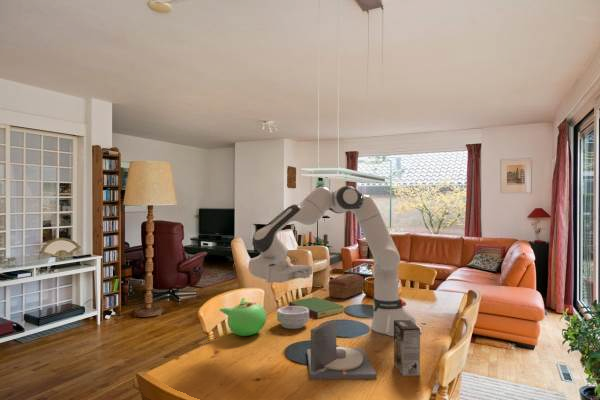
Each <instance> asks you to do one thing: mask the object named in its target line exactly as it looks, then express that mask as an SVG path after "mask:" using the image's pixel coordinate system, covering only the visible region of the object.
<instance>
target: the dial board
mask: <svg viewBox="0 0 600 400" xmlns="http://www.w3.org/2000/svg"><path fill="white" fill-rule="evenodd" d="M351 349H354V350H356V351H358V352H360V353H361V354H362V356H363V363H362V365H361V366H360V367H358V368H355V369H352V370H344V371H339V370H331V369H327V368H324V367H323V368H321V369H319V370H318V371H316V372H312V371H311V348H308V349H306V355H307V356H308V357H307V361H308V363H307V364H308V371H309V377H310V378H309V380H316V381H317V380H359V379H360V380H365V379H366V380H368V379H374V380H375V379H377V372H376V370H375V368H374V366H373V365H372V363H371V361H370V359H369V357H368V355H367V352H366V350H365V349H364V348H361V347H360V348H358V347H357V348H353V347H352V348H351Z"/></svg>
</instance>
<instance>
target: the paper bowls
mask: <svg viewBox="0 0 600 400" xmlns="http://www.w3.org/2000/svg"><path fill="white" fill-rule="evenodd" d="M276 320H277V322H278V323H280V324H281V326H282V327H283V328H284V329H288V330H297V329H299V330H300V329H301V328H303V327H304V326H305V324H306V323H307V322H309V321H310V316H309V309H308V308H306V307H302V306H289V305H288V306H283V307H279V308H277V311H276Z"/></svg>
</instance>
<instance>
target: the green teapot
mask: <svg viewBox="0 0 600 400" xmlns="http://www.w3.org/2000/svg"><path fill="white" fill-rule="evenodd" d="M219 311H220V312H221V313H223V314H225V315H226V316H227V326H228V328H229V330H230V331H231V332H232V333H233V334H235V335H236V336H241V337H248V336H253V335H256V334H257V333H259V332H260V331H261V330H262V329H263V328H264V327H265V325H266V322H267V313H266V311H265V309H264V307H263V306H262V305H260V304H259V303H256V302H252V301H247V300H246V297H243V298H241V300H240V303H238V304H236V305H235V306H234V307H232V308H230V307H221V308H219Z"/></svg>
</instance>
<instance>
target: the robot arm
mask: <svg viewBox="0 0 600 400" xmlns="http://www.w3.org/2000/svg"><path fill="white" fill-rule="evenodd" d="M328 210H329V211H331V212H333V213H335V214H343V213H347V212H352V213H353V214H354V217H355V218H356V220H357V222H358V225H359V228H360V229H361V232H362V235H363V236H364V239H365V241H366V243H367V247H368V248H369V251H370V253H371V255H372V257H373V286H374V287H373V290H374V292H373V298H372V299H373V300H372V309H373V313H372V314H373V316H372V321H371V325H370V329H371V330H372V331H373V332H375V333H379V334H383V335H387V336H389V337H394V320H411V321H412V322H413V323H414V324H415V325H417V326H418V327H419V328H420V334H422V327H420V326H419V325H418V324H417V321H416V317H415V316H414V315H413V313H411V312H410V311H409V310H407V309H406V308H405V306H407V302H406V301H405V300H403V299H401V298H399V297H400V296H399V294H400V293H399V292H400V291H399V290H400V289H399V287H400V286H399V284H400V283H399V271H398V266H399V265H400V262H401V256H400V252H399V251H398V248H397V246H396V245H395V244H396V243H395V242H394V240H393V238H392V236H391V234H390V231H389V229H388V227H387V226H386V222H385V221H384V218H383V217H382V214H381V212H380V210H379V208H378V206H377V204H376V202H375V201H374V199H373V198H372V197H371V196H370V195H368V194H362V193H361V192H360V191H359V190H358V189H357V188H356V187H354V186H351V185H345V186H342V187H339V188H337V189H336V190H335V191H334V190H333V191H331V190H330V189H328V188H327V187H326V186H317V188H315V189H313V190H311V192H310V193H309V194H307V195H306V196H305V198H303V200H302V201H301V202H300V203H298V204H291V205H290V206H288V207H287V208H286V209H284V210H283V211H282V212H280V213H279V214H277V216H275V217H274V218H273V219H272V220H271V221H269V222H268V223H267V224H266V225H263V227H261V228H259V229H257V230H256V231H255V232H254V234H253V236H252V240H251V245H252V247H253V248H254V249H255V250H257V251H258V252H260V253H259V255H258V256H255V257H253V258H250V260H249V261H248V270H249V273H250V274H251V275H252V276H254V277H256V278H258V279H262V280H265V281H266V283H268V284H269V283H270V284H271V283H272V284H273V283H280V284H281V283H286V282H288V281H289V282H290V281H292V280H298V279H308V278H310V277H311V276H312V275H313V267H312V266H311V265H306V264H294V265H290V263H289V261H286V260H287V257H288V253H289V252H288V251H289V250H288V248H287V247H286V245H285V244H284V243H283V242H282V241H281V239H279V238H278V236H277V234H278V233H279V232H280V231H281V230H283V228H285V227H286V226H288V224H290V223H292V222H298V223H300V224H302V225H307V226H310V225H314V224H316V223H317V222H319V220H320V219H321V218H322V217H323V216H324V214H325V213H326V212H327V211H328Z"/></svg>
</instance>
